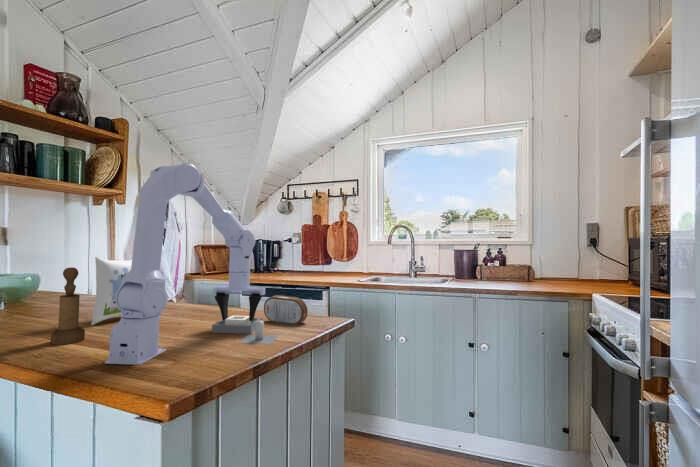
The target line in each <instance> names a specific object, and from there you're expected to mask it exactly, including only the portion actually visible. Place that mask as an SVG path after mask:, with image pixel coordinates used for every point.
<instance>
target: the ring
mask: <svg viewBox="0 0 700 467" xmlns="http://www.w3.org/2000/svg"><path fill="white" fill-rule="evenodd" d="M228 317H229V318H227V319H225V325H250V324H251V321H249V315H231V316H228Z"/></svg>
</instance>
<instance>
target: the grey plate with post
mask: <svg viewBox="0 0 700 467" xmlns="http://www.w3.org/2000/svg"><path fill="white" fill-rule="evenodd" d="M264 325H265V321H264V320H263V319H262V320H259V321H256V329H255V331H254V332H255V333H254V334H247V335H246V336H245V337H244V338H242V339H241V340H240V341H239V342H238V344H252V345H254V344H256V345H257V344H258V345H263V344H264V345H272V344H273V343H274V341H275V340H276V339H277V338H278V337H279V335H277V334H274V335H273V334H272V335H271V334H270V335H269V334H264V329H265V328H264Z"/></svg>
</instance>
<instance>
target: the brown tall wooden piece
mask: <svg viewBox="0 0 700 467" xmlns="http://www.w3.org/2000/svg"><path fill="white" fill-rule="evenodd" d="M62 276H63V277H64V279H65V280H66V284H65V285H64V286H63V288H64V292H65V294H64V295H63V294H62V295H60V296H59V307H58V310H59V311H58V326H57V327H58V328H57V329H54V330H53V331H52V332H51V333H50V344H51V345H57V346H58V345H60V346H61V345H63V346H64V345H68V344H69V345H70V344H71V345H72V344H76V343H79V342H82V341H84V340H85V336H86V334H85V333H86V332H85V329H84V328H82V327H81V326H79V317H80V297H81V295H80V294H74V293H75V292H76V288H77V286H76V285H75V280H76V279H77V278H78V276H79V270H78V268H76V267H66V268H65V269H63V271H62Z"/></svg>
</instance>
